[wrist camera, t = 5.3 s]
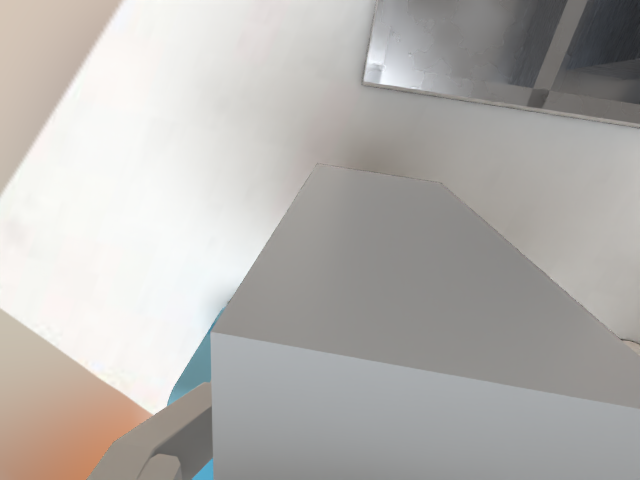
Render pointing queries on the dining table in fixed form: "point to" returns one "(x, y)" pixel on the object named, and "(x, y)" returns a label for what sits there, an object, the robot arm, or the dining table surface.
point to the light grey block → (412, 350)
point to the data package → (192, 378)
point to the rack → (513, 54)
